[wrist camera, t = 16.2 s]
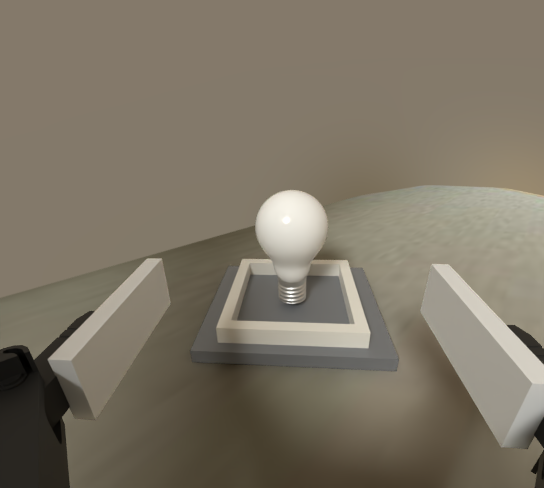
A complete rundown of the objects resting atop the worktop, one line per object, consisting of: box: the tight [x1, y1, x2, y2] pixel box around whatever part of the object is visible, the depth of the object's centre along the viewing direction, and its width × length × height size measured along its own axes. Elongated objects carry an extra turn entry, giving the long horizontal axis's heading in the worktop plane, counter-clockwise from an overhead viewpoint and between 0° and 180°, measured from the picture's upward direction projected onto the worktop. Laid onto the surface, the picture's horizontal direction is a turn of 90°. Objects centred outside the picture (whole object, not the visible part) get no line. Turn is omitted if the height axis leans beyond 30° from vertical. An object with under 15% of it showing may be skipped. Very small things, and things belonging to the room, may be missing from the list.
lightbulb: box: [255, 190, 329, 304], centre depth 27 cm, size 6×6×11 cm
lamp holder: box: [190, 259, 399, 371], centre depth 29 cm, size 16×14×3 cm
